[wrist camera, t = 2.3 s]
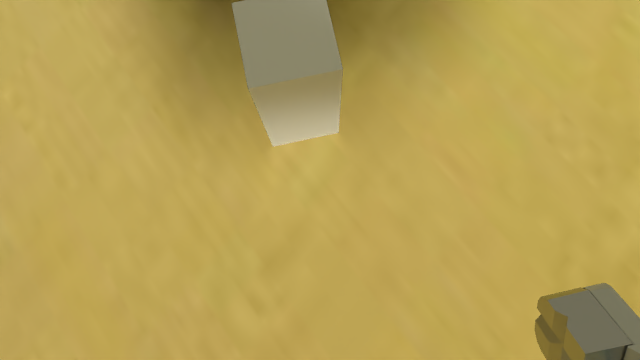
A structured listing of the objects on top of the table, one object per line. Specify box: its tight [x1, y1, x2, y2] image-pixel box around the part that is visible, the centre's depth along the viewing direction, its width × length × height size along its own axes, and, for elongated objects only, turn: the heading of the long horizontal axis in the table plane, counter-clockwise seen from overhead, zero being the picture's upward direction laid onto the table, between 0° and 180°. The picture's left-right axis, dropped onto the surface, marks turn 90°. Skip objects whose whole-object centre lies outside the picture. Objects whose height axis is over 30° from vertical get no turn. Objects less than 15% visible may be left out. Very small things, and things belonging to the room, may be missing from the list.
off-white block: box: [232, 0, 343, 146], centre depth 27 cm, size 4×4×10 cm
